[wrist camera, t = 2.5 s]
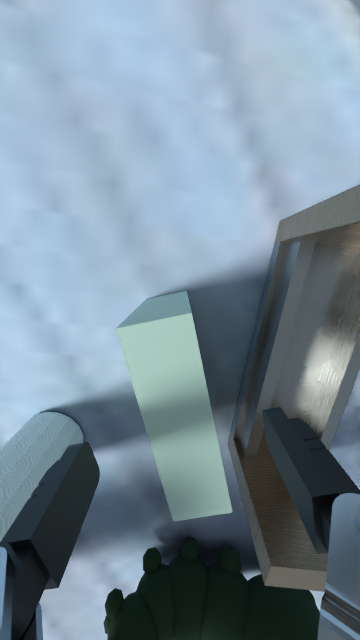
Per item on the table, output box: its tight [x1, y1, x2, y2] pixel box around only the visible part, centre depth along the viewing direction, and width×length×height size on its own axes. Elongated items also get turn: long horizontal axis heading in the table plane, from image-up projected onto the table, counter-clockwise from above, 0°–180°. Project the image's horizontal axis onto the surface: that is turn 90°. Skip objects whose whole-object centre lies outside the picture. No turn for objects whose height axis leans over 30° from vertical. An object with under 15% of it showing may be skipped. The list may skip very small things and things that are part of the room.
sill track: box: [228, 185, 360, 592], centre depth 15 cm, size 21×8×10 cm, turn 172°
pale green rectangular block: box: [116, 291, 233, 522], centre depth 15 cm, size 12×4×9 cm, turn 12°
